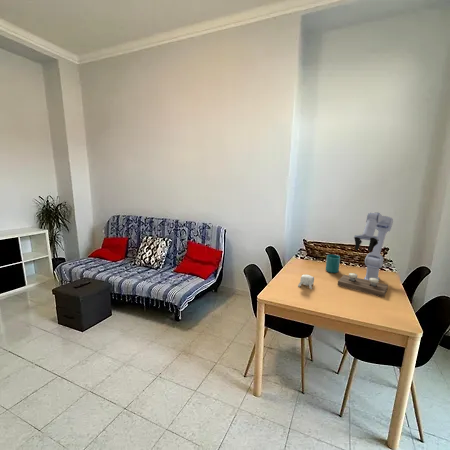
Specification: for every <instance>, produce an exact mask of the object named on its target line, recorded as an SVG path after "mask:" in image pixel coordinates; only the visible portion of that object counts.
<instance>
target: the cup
mask: <svg viewBox="0 0 450 450" xmlns="http://www.w3.org/2000/svg"><path fill="white" fill-rule="evenodd" d="M325 261H326V262H325V271H326V272H328V273H331V274H337V273H339V271H340V263H341V256H340V255H337V254H327V255H326V260H325Z"/></svg>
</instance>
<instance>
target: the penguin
mask: <svg viewBox="0 0 450 450" xmlns="http://www.w3.org/2000/svg"><path fill="white" fill-rule="evenodd" d="M314 282H315V276H312V275H310V274H301V277H300V282H299V283H298V285H297V287H298V288H300V287H301V286H302V285H304V286H306V287H307V286H309V289H310V290H312V289H313V287H312V286H313V285H314Z"/></svg>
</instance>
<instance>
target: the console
mask: <svg viewBox="0 0 450 450" xmlns="http://www.w3.org/2000/svg"><path fill="white" fill-rule="evenodd" d="M337 286H340V287H342V288H347V289H351V290H354V291H358V292H362V293H365V294H369V295H373V296H376V297H381V298H385V296H386V293H387V291H388V289H389V284H385V283H381V282H378V283H376V287H373V286H371V282H370V281H369V280H365V279H364V278H360V277H357V278H355V282H352V281H350V277H349V274H343V275H342V276H341V277H340V278H339V279H338V280H337Z"/></svg>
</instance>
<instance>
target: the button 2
mask: <svg viewBox="0 0 450 450" xmlns="http://www.w3.org/2000/svg"><path fill="white" fill-rule="evenodd" d="M369 281H370V282H371V286H373V287H376V283H380V282H379V281H380V279H379V280H378V279H376V278H370V279H369Z"/></svg>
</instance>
